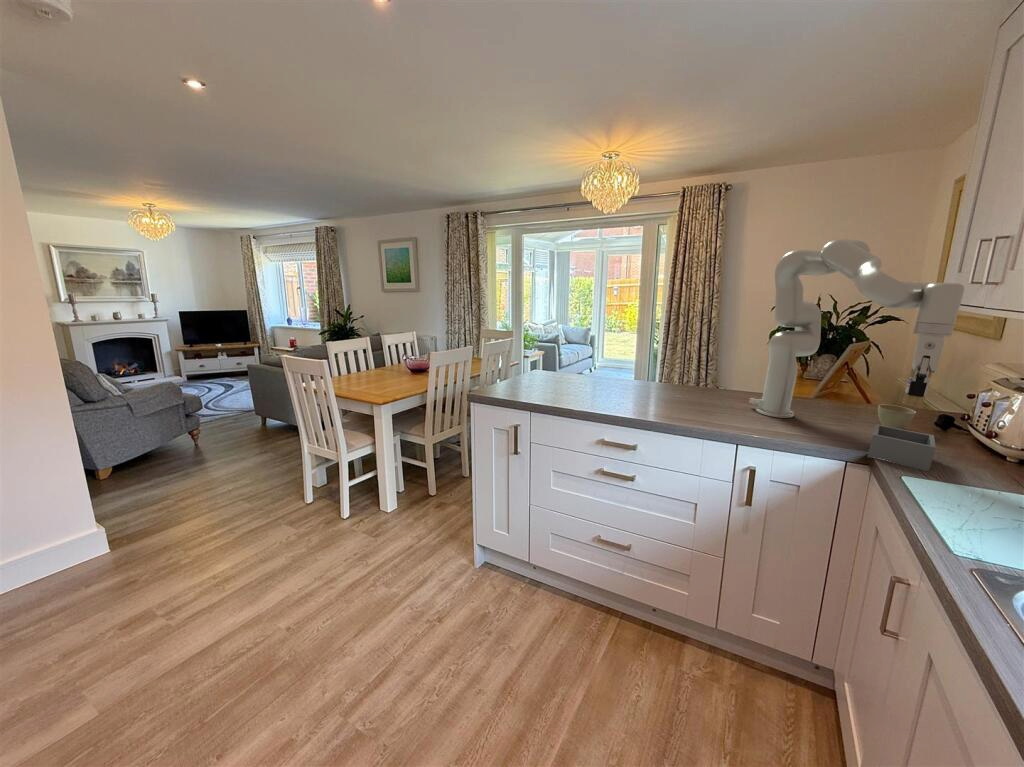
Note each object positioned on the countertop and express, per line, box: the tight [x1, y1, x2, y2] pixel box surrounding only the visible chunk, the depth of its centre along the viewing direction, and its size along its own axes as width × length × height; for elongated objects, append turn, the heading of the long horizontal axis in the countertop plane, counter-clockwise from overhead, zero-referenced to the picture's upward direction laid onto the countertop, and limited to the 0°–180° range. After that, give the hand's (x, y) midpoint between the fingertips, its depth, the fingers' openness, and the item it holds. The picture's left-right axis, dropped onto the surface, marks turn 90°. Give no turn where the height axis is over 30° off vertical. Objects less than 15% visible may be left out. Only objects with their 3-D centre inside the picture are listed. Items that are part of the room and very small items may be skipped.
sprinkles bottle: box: [901, 358, 933, 408], centre depth 117 cm, size 5×5×14 cm
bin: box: [867, 423, 937, 472], centre depth 122 cm, size 13×13×7 cm
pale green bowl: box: [877, 404, 917, 430], centre depth 148 cm, size 10×10×7 cm
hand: (915, 393), depth 118 cm, fingers closed on sprinkles bottle, 4 cm apart
